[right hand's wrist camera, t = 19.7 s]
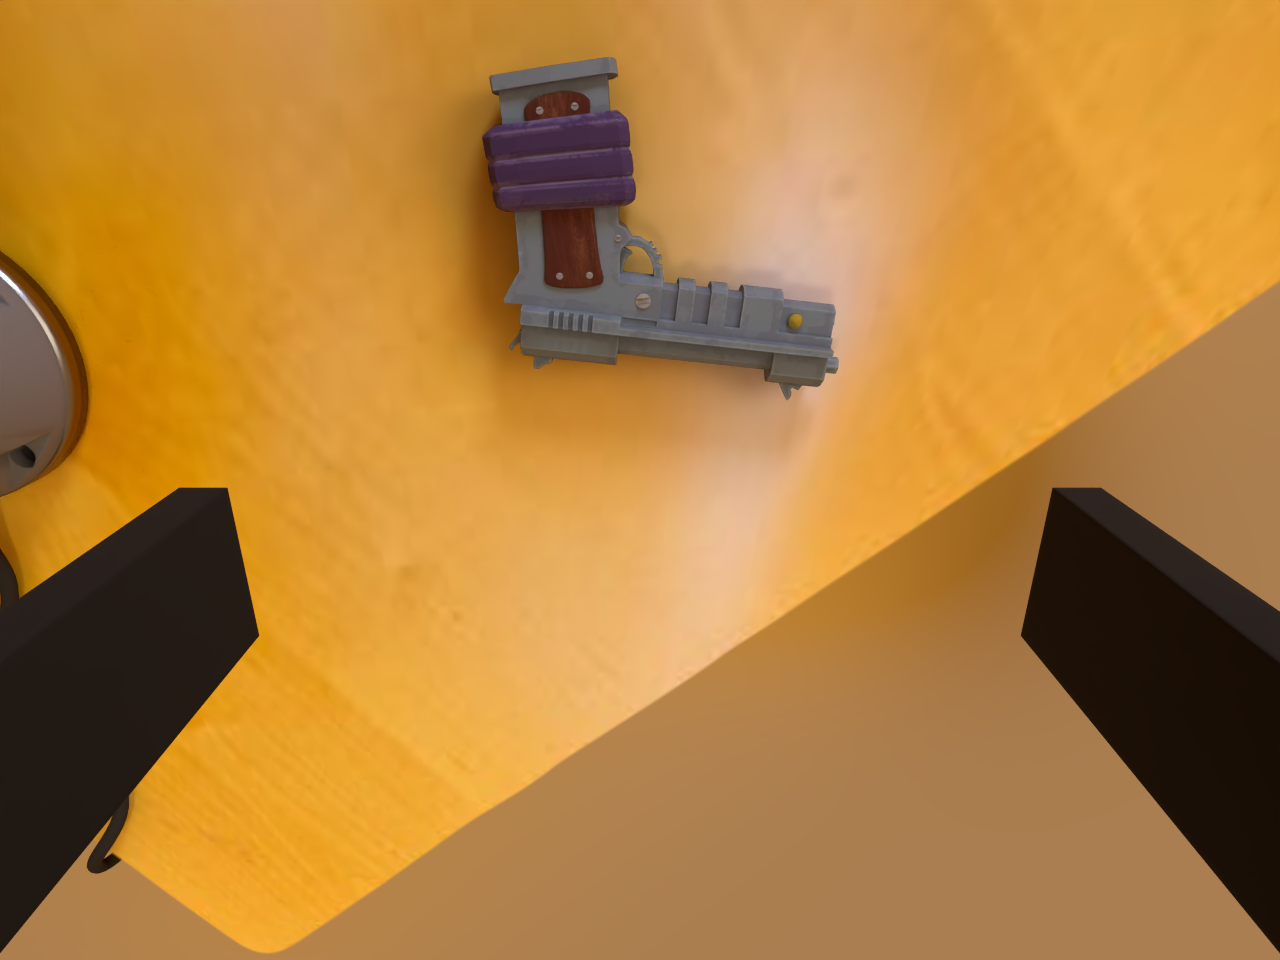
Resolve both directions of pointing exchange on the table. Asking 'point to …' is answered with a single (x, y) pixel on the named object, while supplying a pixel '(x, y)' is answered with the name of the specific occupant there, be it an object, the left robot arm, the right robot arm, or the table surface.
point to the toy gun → (619, 246)
